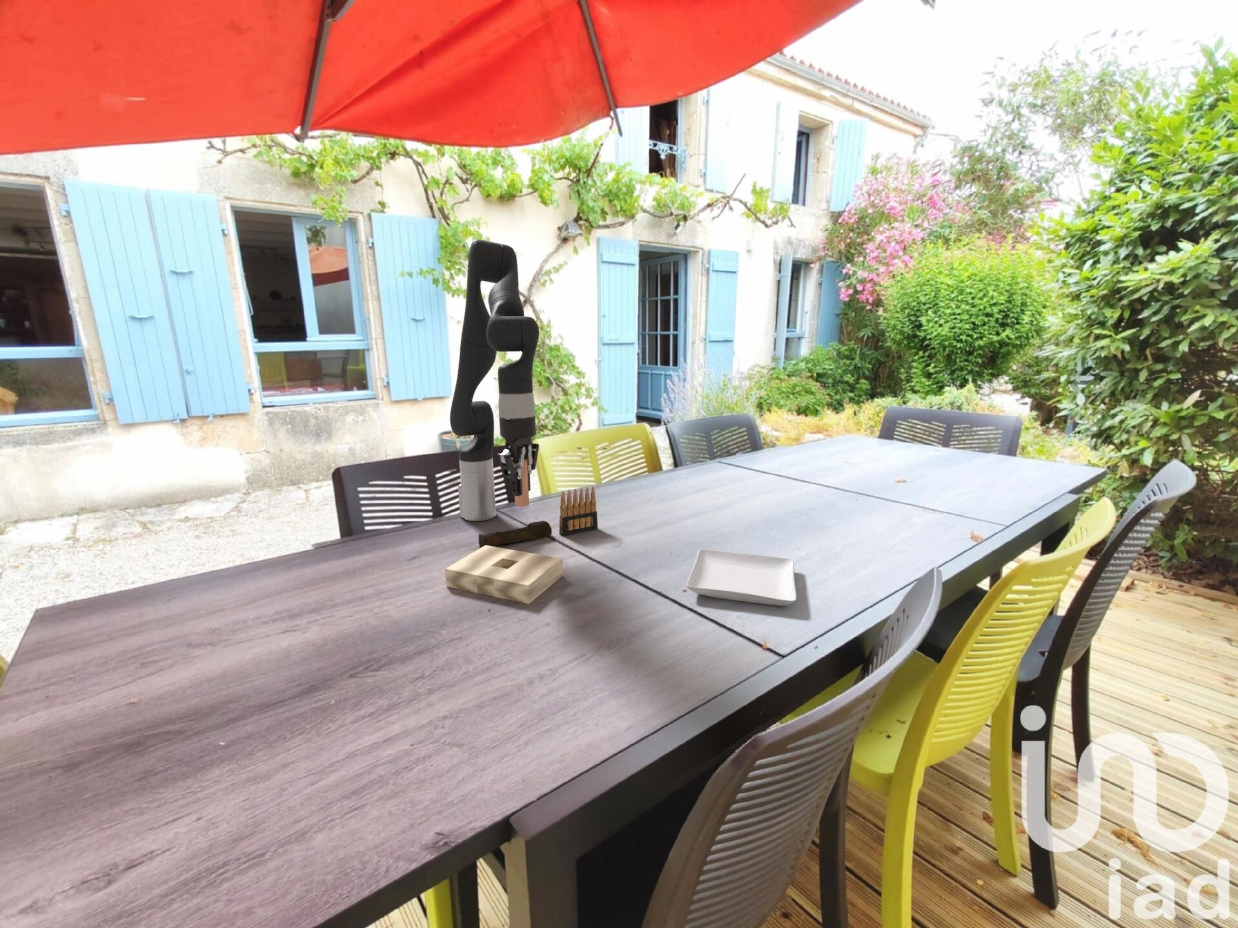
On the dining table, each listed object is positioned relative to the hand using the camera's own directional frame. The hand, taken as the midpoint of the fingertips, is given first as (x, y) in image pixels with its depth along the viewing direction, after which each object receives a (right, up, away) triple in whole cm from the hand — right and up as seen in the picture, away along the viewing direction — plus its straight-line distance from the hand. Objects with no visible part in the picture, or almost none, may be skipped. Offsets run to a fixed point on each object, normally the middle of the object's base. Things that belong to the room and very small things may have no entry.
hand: (521, 493), depth 119 cm
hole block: (-3, -19, -2) cm, 19 cm away
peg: (0, -3, +1) cm, 3 cm away
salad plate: (+47, -20, -3) cm, 51 cm away
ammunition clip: (+10, -12, +28) cm, 32 cm away
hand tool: (-5, -14, +21) cm, 25 cm away
